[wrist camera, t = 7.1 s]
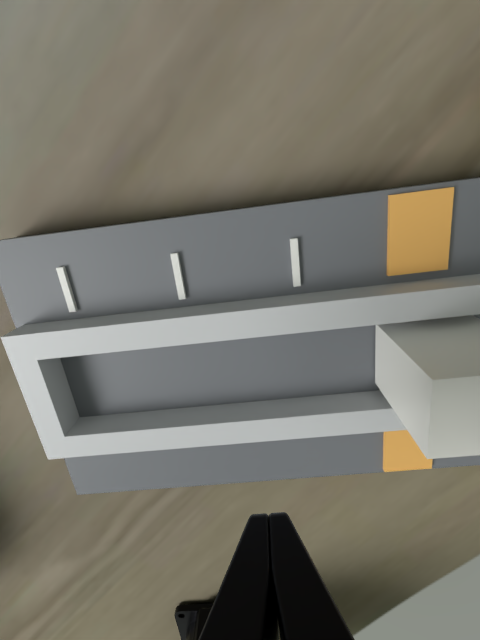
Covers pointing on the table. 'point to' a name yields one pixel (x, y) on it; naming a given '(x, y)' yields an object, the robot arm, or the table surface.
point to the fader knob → (433, 381)
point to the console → (234, 335)
